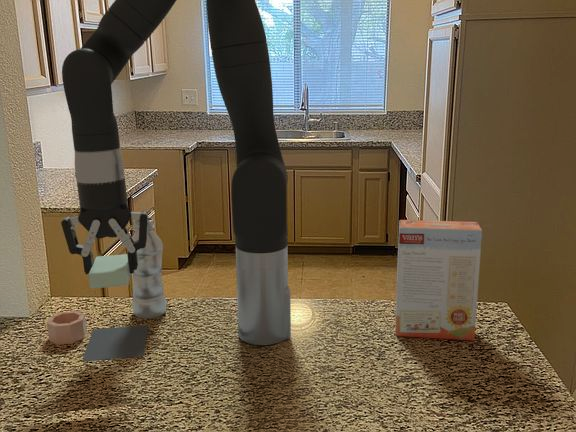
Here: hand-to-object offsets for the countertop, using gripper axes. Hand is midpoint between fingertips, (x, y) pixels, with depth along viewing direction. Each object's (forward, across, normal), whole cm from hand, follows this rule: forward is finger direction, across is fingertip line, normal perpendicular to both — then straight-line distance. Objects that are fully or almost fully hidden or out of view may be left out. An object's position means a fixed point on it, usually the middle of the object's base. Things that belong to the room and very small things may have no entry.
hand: (112, 273), depth 96 cm
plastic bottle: (+14, -4, -12) cm, 19 cm away
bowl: (+14, +10, -4) cm, 17 cm away
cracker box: (+15, -56, +5) cm, 59 cm away
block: (+1, 0, 0) cm, 1 cm away
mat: (+14, 0, 0) cm, 14 cm away
